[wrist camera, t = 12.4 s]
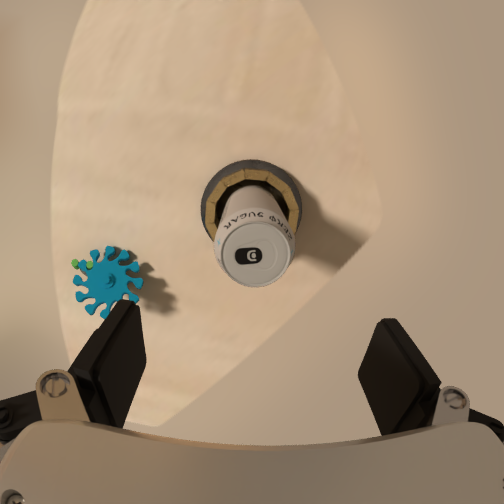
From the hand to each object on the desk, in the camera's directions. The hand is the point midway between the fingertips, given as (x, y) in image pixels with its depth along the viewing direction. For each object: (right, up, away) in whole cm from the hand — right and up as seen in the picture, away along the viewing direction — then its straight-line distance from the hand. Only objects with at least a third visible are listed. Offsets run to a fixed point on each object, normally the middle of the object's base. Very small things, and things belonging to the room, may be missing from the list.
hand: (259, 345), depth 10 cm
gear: (-20, +1, +28) cm, 34 cm away
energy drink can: (0, +9, +23) cm, 25 cm away
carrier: (0, +9, +25) cm, 26 cm away
